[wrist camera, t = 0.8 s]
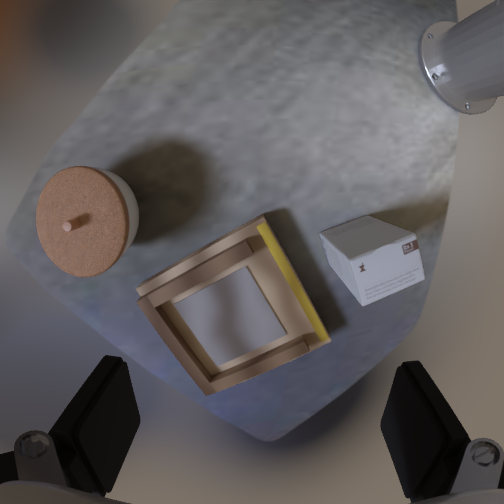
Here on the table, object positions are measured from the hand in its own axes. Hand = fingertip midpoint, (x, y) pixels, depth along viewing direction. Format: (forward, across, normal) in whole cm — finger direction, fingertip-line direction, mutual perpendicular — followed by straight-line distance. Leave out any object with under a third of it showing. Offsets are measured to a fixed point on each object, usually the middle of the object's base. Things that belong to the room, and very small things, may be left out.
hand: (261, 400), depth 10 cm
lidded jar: (+26, +18, -3) cm, 31 cm away
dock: (+26, +3, +9) cm, 27 cm away
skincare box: (+26, -10, 0) cm, 28 cm away
